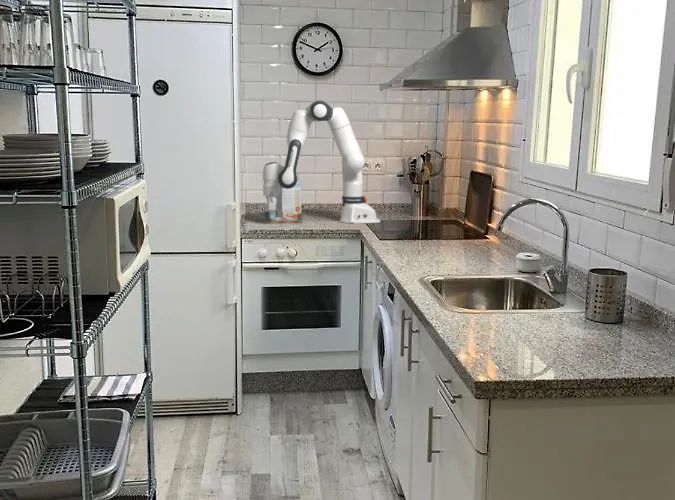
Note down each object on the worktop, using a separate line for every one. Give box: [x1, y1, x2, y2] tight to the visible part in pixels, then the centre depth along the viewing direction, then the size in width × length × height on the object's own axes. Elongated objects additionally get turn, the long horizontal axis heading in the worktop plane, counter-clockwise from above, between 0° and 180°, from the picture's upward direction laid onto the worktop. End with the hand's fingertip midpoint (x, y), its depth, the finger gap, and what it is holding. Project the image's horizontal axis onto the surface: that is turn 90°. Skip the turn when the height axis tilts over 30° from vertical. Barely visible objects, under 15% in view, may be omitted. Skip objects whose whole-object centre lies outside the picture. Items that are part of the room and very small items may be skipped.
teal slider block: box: [268, 211, 277, 221], centre depth 385 cm, size 4×5×4 cm
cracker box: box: [276, 180, 303, 217], centre depth 403 cm, size 14×6×21 cm, turn 130°
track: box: [264, 210, 303, 225], centre depth 386 cm, size 20×10×6 cm, turn 97°
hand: (271, 217), depth 385 cm, fingers closed on teal slider block, 5 cm apart
